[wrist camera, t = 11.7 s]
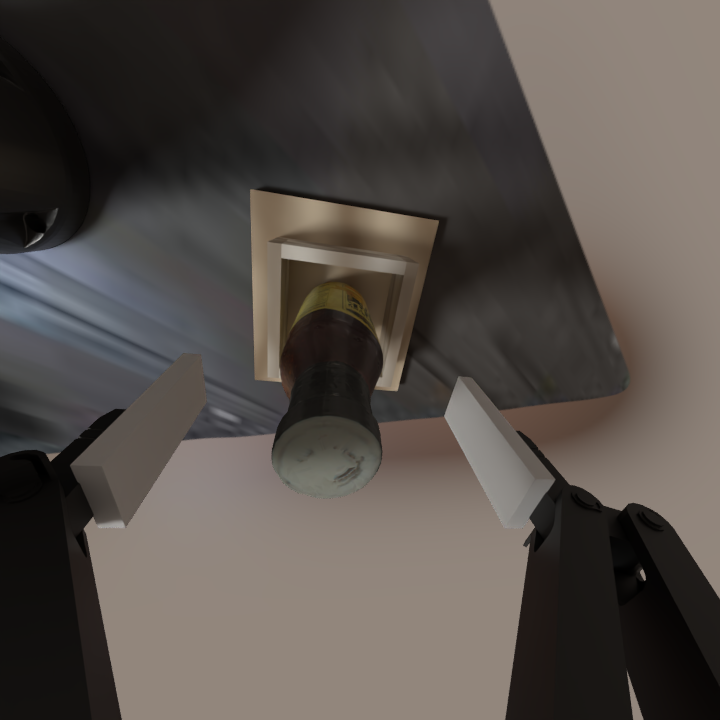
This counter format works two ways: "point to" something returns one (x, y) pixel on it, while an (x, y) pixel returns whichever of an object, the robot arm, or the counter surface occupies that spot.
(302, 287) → the caddy board
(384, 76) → the counter surface
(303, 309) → the sauce bottle
